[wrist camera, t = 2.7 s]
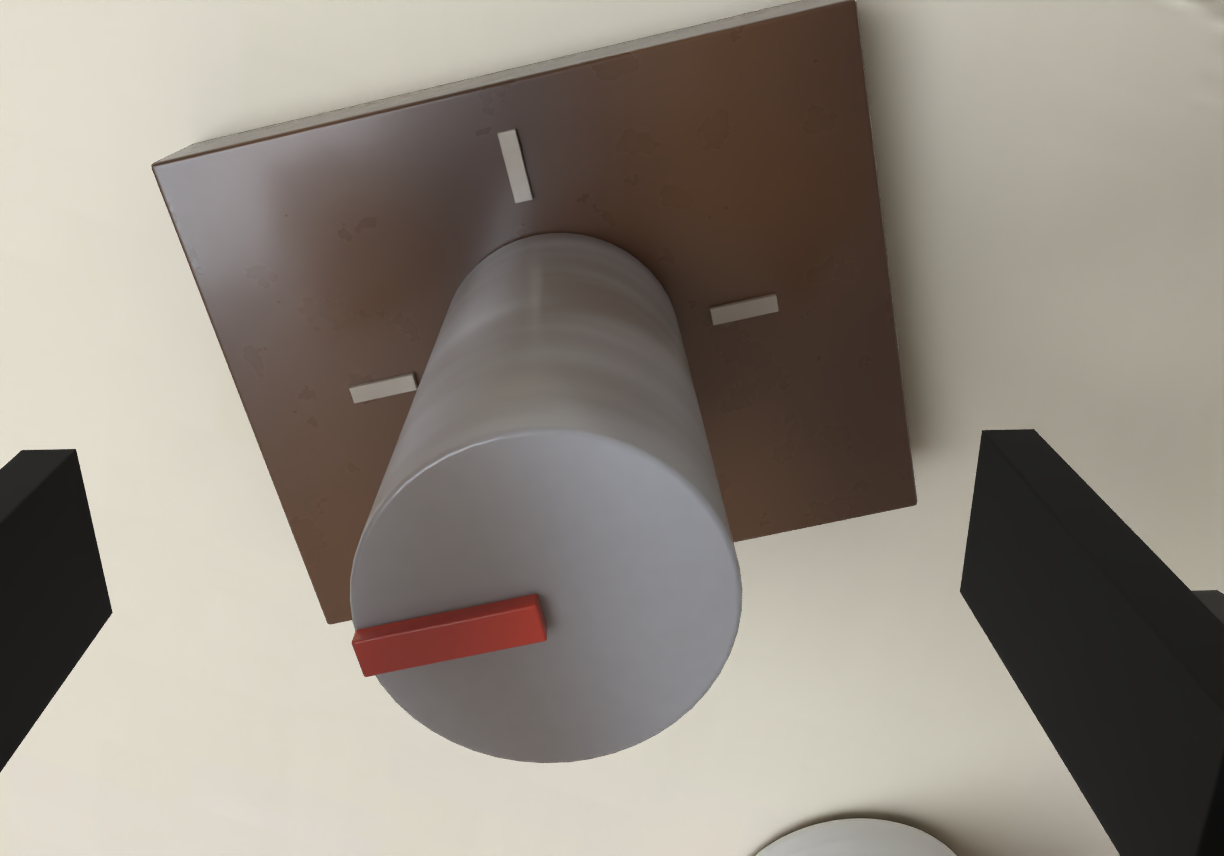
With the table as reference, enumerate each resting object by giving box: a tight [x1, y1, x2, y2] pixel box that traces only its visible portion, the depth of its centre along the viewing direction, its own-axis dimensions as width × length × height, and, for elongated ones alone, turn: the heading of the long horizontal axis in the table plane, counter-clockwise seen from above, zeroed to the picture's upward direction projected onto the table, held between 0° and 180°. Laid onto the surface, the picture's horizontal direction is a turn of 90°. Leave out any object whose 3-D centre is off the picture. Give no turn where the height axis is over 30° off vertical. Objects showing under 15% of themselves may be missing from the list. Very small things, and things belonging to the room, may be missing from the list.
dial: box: [350, 233, 742, 763], centre depth 18 cm, size 5×5×10 cm
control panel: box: [152, 0, 917, 624], centre depth 24 cm, size 14×11×3 cm
